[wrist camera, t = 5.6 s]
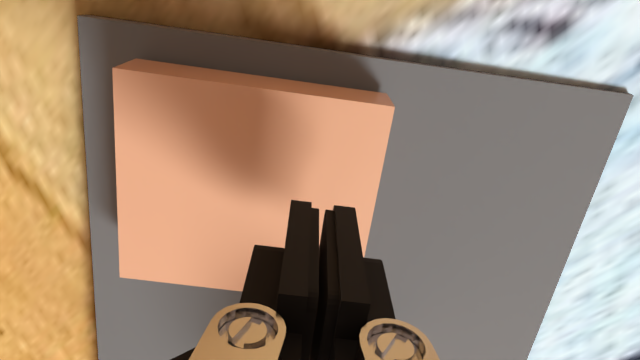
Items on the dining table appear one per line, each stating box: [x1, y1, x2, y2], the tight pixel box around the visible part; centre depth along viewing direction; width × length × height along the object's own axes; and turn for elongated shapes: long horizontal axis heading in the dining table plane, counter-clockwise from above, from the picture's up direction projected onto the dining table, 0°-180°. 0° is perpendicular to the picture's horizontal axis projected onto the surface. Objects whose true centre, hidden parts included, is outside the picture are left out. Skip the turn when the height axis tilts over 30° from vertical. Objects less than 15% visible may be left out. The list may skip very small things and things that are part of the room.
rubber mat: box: [77, 15, 633, 360], centre depth 18 cm, size 18×18×1 cm
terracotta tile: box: [112, 58, 395, 291], centre depth 15 cm, size 2×7×8 cm
